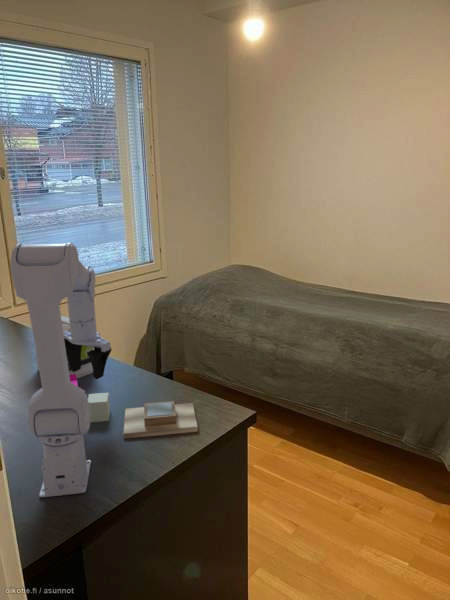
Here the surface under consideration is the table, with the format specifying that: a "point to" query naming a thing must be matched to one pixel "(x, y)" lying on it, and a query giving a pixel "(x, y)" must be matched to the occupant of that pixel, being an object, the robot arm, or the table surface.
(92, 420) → the sage block
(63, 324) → the tea box
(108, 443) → the table surface
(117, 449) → the table surface
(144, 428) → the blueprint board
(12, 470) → the table surface
